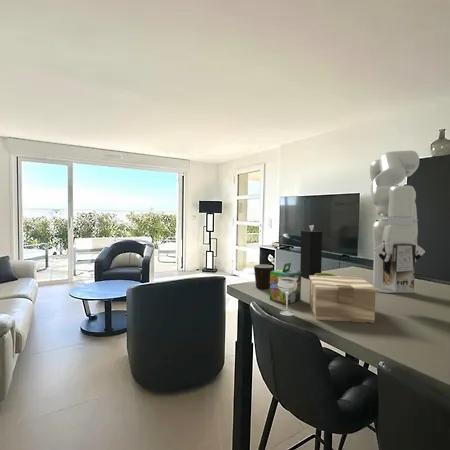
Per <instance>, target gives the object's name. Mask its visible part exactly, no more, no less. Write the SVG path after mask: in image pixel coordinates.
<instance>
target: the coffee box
mask: <svg viewBox="0 0 450 450" xmlns="http://www.w3.org/2000/svg"><path fill="white" fill-rule="evenodd" d="M415 252H416V245H412V244H400V245H393V252H392V255H391V257H390V258H389V260H388V262H390V269H389V273H386V272H384V270H383V286H385V287H387V288H389V289H391V290H392V291H394V292H398V293H414V292H415V291H414V290H415V271H416V270H415V267H416V266H415V265H416V262H415ZM416 253H417V252H416ZM384 254H385V252H384Z"/></svg>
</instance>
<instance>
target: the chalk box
mask: <svg viewBox="0 0 450 450" xmlns="http://www.w3.org/2000/svg"><path fill="white" fill-rule="evenodd" d="M283 265H284V266H283V268H278V269H275V270H274V269H273V270H272V271H271V272H270V289H269V300H271V301H275V302H278V303H281V304H285V305H286V295H285V293H283V292H281V291H280V290H279V288H278V286H277V283H278V281H279V280H278V278H279V277H294V278H297V281H296V282H297V289H296V290H295V291H294V292H293V293H291V294H290V295H288V305H290V304H293V303H296V302H299V301H301V300H302V299H301V297H302V296H301V292H302V277H301V272H300V270H299V271H298V270H295V269H291V265H292V262H288V263H284V264H283ZM286 267H287V268H286Z"/></svg>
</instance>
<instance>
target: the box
mask: <svg viewBox="0 0 450 450" xmlns="http://www.w3.org/2000/svg"><path fill="white" fill-rule="evenodd" d="M338 293H339V290H323V289H315V288H314V286H313V284H312V282H311V280H310V279H309V305H310V309H311V311H312V314H313V315H314V319H315V320H317V321H318V320H319V321H321V320H322V321H337V322H350V321H352V322H353V323H366V322H370V323H371V324H374V323H375V322H376V321H375V319H376V317H375V316H376V292H367V291H353V304H338ZM370 323H369V324H370Z"/></svg>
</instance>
